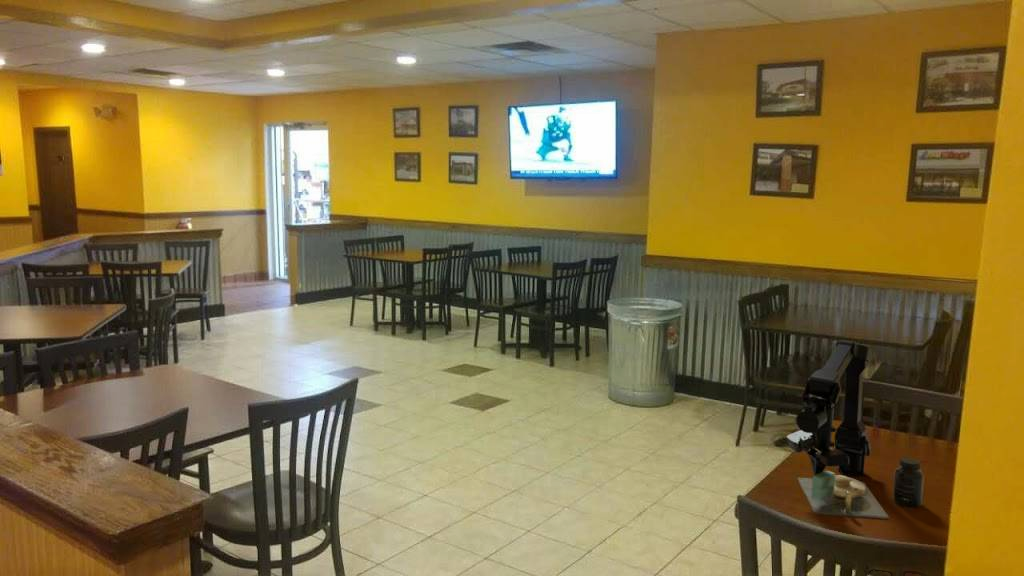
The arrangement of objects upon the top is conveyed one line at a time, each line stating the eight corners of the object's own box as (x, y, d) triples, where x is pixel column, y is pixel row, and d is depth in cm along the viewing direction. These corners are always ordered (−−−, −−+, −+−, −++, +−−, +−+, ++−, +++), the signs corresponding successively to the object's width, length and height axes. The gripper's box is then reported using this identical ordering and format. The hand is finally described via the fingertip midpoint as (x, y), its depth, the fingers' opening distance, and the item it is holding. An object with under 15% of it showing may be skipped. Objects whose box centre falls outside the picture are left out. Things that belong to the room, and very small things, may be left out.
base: (863, 483, 209) (864, 463, 208) (888, 519, 188) (890, 497, 187) (797, 479, 212) (798, 459, 211) (814, 513, 191) (816, 491, 190)
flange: (833, 475, 208) (834, 455, 207) (874, 490, 198) (875, 469, 197) (795, 490, 198) (796, 469, 197) (836, 507, 188) (838, 485, 187)
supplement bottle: (895, 495, 202) (899, 453, 200) (923, 502, 197) (927, 459, 196) (890, 503, 196) (893, 461, 195) (918, 511, 192) (922, 467, 190)
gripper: (775, 411, 201) (771, 464, 204) (812, 437, 183) (807, 494, 186) (812, 409, 203) (808, 461, 206) (852, 434, 185) (847, 491, 188)
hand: (816, 476), depth 197 cm, fingers closed
